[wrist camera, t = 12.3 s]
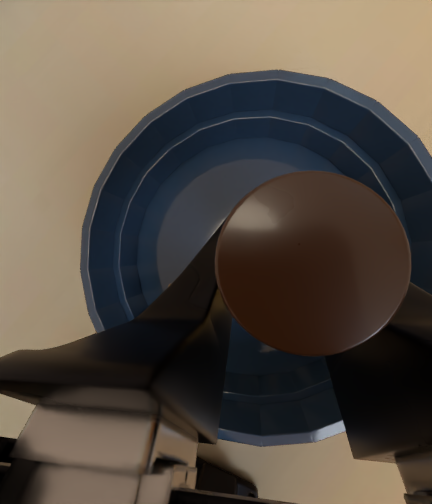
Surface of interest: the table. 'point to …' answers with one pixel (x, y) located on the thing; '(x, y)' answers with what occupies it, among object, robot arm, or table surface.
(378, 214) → the pestle
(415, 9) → the table surface
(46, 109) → the table surface
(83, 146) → the table surface
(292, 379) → the bowl
